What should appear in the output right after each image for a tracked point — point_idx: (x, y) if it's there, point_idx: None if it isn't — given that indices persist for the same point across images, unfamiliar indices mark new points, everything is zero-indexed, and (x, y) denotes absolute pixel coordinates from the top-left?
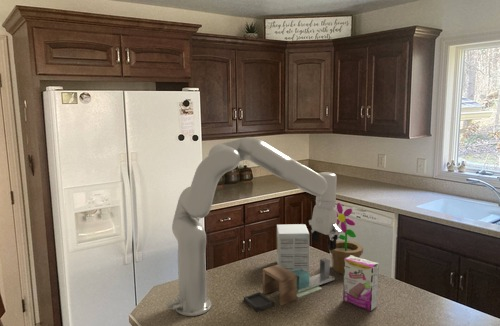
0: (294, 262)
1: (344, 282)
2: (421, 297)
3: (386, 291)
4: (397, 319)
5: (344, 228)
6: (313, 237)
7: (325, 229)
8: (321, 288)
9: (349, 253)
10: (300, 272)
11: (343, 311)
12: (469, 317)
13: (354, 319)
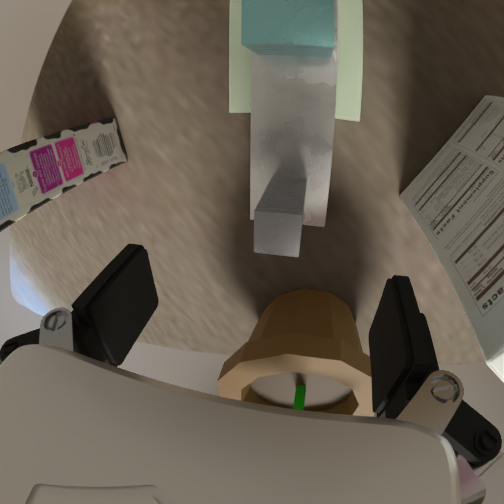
0: (468, 156)
1: (57, 132)
2: None
3: None
4: None
5: None
6: (399, 322)
7: (7, 408)
8: (229, 107)
9: (231, 366)
10: (285, 7)
11: (76, 76)
12: (18, 287)
13: (43, 81)
